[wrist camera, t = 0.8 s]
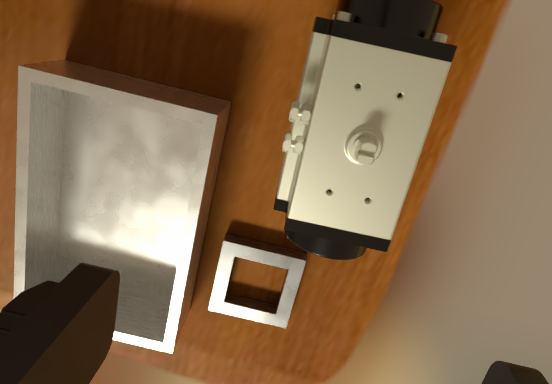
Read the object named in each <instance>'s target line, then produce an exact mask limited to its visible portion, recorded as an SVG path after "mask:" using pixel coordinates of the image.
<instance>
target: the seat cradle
mask: <svg viewBox="0 0 552 384" xmlns="http://www.w3.org/2000/svg"><path fill="white" fill-rule="evenodd" d="M230 106H231V101H227V100H223V99H219V98H215V97H211V96H207V95H203V94H199V93H195V92H191V91H188V90H184V89H180V88H176V87H172V86H168V85H164V84H160V83H156V82H152V81H148V80H144V79H140V78H136V77H132V76H128V75H124V74H120V73H116V72H112V71H108V70H104V69H100V68H96V67H92V66H88V65H84V64H80V63H76V62H72V61H68V60H57V61H50V62H42V63H34V64H26V65H18V110H17V159H16V208H15V257H14V298H15V297H16V296H18V295H19V294H20V293H21V292H23V291H25V290H27V289H29V288H32V287H34V286H36V285H38V284H41V283H43V282H45V281H47V280H49V281H54V282H58V283H60V282H61V281H62V280H63V279H64V278H65V277H66V276H67V275H68V274H69V273H70V272H71V271H72V270H73V269H74V268H75V267H76V266H77V265H78V264H80V263H88V264H92V265H96V266H100V267H105V268H109V269H113V270H117V271H119V273H120V285H119V294H118V303H117V312H116V322H115V330H114V336H113V340H117V341H121V342H126V343H130V344H134V345H138V346H143V347H147V348H151V349H155V350H160V351H164V352H168V353H173V350H174V348H175V345H176V343H177V340H178V338H179V335H180V333H181V331H182V328H183V326H184V323H185V321H186V318H187V316H188V313H189V311H190V306H191V301H192V296H193V291H194V286H195V281H196V276H197V271H198V266H199V261H200V256H201V251H202V246H203V241H204V236H205V231H206V226H207V221H208V216H209V211H210V206H211V201H212V196H213V191H214V186H215V181H216V176H217V171H218V166H219V161H220V156H221V151H222V146H223V141H224V136H225V131H226V126H227V121H228V116H229V111H230Z"/></svg>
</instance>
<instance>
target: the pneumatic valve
mask: <svg viewBox="0 0 552 384" xmlns="http://www.w3.org/2000/svg"><path fill="white" fill-rule="evenodd" d="M443 9H444V7H443V6H442V5H441V4H439V3H437V2H435V1H432V0H338V4H337V8H336V13H335V14H333V15H332V17H331V20H329V19H325V18H320V17H316V18H315V21H314V25H313V30H312V31H313V32H312V34H311V39H310V43H309V48H308V52H307V57H306V61H305V65H304V70H303V74H302V79H301V83H300V88H299V92H298V97H297V101H294V102H292V105H291V110H290V114H289V119H288V120H289V121H292V124H291V128H290V133H285V137H284V142H283V146H282V151H283V152H285V155H284V160H283V164H282V169H281V173H280V178H279V182H278V187H277V192H276V198H275V204H274V210H278V211H283V212H285V213H286V216H285V226H284V229H285V233H286V235H287V237H288V238H289V239H290V240H291V241H292V242H293V243H294V244H295V245H297V246H298V247H300V248H301V249H303V250H305V251H307V252H310V253H312V254H315V255H317V256H321V257H325V258H329V259H336V260H350V259H355V258H358V257H360V256H362V255H363V254H364V253H365V252H366V249H367V248H370V249H375V250H380V251H384V252H387V251H388V248H389V245H390V242H391V239H392V236H393V233H394V230H395V227H396V224H397V221H398V218H399V216H400V213H401V210H402V207H403V204H404V201H405V198H406V195H407V192H408V189H409V186H410V183H411V180H412V177H413V175H414V172H415V169H416V166H417V163H418V160H419V157H420V154H421V151H422V148H423V145H424V142H425V139H426V136H427V133H428V131H429V128H430V125H431V122H432V119H433V116H434V113H435V110H436V107H437V104H438V101H439V98H440V95H441V92H442V89H443V87H444V84H445V81H446V78H447V75H448V72H449V69H450V66H451V62H452V60H453V57H454V54H455V51H456V48H457V46H454V45H450V44H445V43H446V40H447V37H448V36H447V35H445V34H441V33H436V31H437V28H438V25H439V22H440V19H441V16H442V12H443ZM316 32H317V33H316ZM321 33H322V34H321ZM325 34H326V35H325ZM330 35H331V36H330ZM334 36H335V37H334ZM339 37H340V38H339ZM343 38H344V39H343ZM348 39H349V40H348ZM352 40H353V41H352ZM357 41H358V42H357ZM361 42H362V43H361ZM366 43H367V44H366ZM370 44H371V45H370ZM375 45H376V46H375ZM379 46H380V47H379ZM384 47H385V48H384ZM388 48H389V49H388ZM393 49H394V50H393ZM397 50H398V51H397ZM402 51H403V52H402ZM406 52H407V53H406ZM411 53H412V54H411ZM415 54H416V55H415ZM420 55H421V56H420ZM424 56H425V57H424ZM428 57H430V58H428ZM433 58H434V59H433ZM437 59H439V60H437ZM442 60H443V61H442ZM446 61H448V62H446Z"/></svg>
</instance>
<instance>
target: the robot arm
mask: <svg viewBox="0 0 552 384" xmlns="http://www.w3.org/2000/svg"><path fill="white" fill-rule="evenodd" d="M119 285H120V273H119V271H117V270H113V269H109V268H105V267H100V266H96V265H92V264H88V263H80V264H78V265H77V266H76V267H75V268H74V269H73V270H72V271H71V272H70V273H69V274H68V275H67V276H66V277H65V278H64V279H63V280H62V281H61V282H60V283H58V282H54V281H49V280H47V281H45V282H43V283H41V284H38V285H36V286H34V287H32V288H29V289H27V290H25V291H23V292H21V293H20V294H19V295H18V296H16V297H15V298H14V299H13V300H12V301H11V302H10V303H8V304H7V305H6V306H5V307H4V308H3V309H2V311H1V313H0V384H89V383H90V381H91V380H92V378H93V377H94V375H95V374H96V372H97V371H98V369H99V368H100V366H101V364H102V363H103V361H104V360H105V358H106V356H107V353H108V351H109V349H110V346H111V343H112V340H113V336H114V330H115V322H116V312H117V303H118V294H119ZM482 384H549V383H548V382H547V381H546V379H545V378H544V376H543V375H542V374H541V372H539V371H538V370H536V369H533V368H529V367H524V366H520V365H516V364H512V363H507V362H503V361H496V362H494V363H493V364H492V365H491V366H490V368H489V370H488V372H487V374H486V376H485V378H484V380H483V382H482Z"/></svg>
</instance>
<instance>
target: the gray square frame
mask: <svg viewBox="0 0 552 384" xmlns="http://www.w3.org/2000/svg"><path fill="white" fill-rule="evenodd" d="M235 257H239V258H243V259H248V260H252V261H256V262H260V263H264V264H268V265H272V266H276V267H281V268H285V269H287V272H286V275H285V279H284V282H283V286H282V289H281V293H280V296H279V300H278V303H277V305H274V304H270V303H266V302H262V301H258V300H254V299H249V298H245V297H241V296H237V295H233V294H229V293H227V288H228V284H229V280H230V275H231V271H232V267H233V263H234V258H235ZM305 263H306V253H305V252H301V251H297V250H293V249H289V248H285V247H281V246H277V245H272V244H268V243H264V242H260V241H256V240H252V239H248V238H244V237H240V236H235V235H231V234H227V233H226V235H225V238H224V240H223V244H222V249H221V254H220V258H219V263H218V267H217V272H216V276H215V281H214V286H213V290H212V295H211V299H210V304H209V308H208V310H211V311H215V312H219V313H223V314H227V315H231V316H236V317H240V318H244V319H248V320H252V321H257V322H261V323H265V324H269V325H273V326H278V327H282V328H286V326H287V323H288V319H289V316H290V313H291V309H292V306H293V303H294V300H295V296H296V293H297V290H298V286H299V283H300V280H301V276H302V273H303V270H304V267H305Z"/></svg>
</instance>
